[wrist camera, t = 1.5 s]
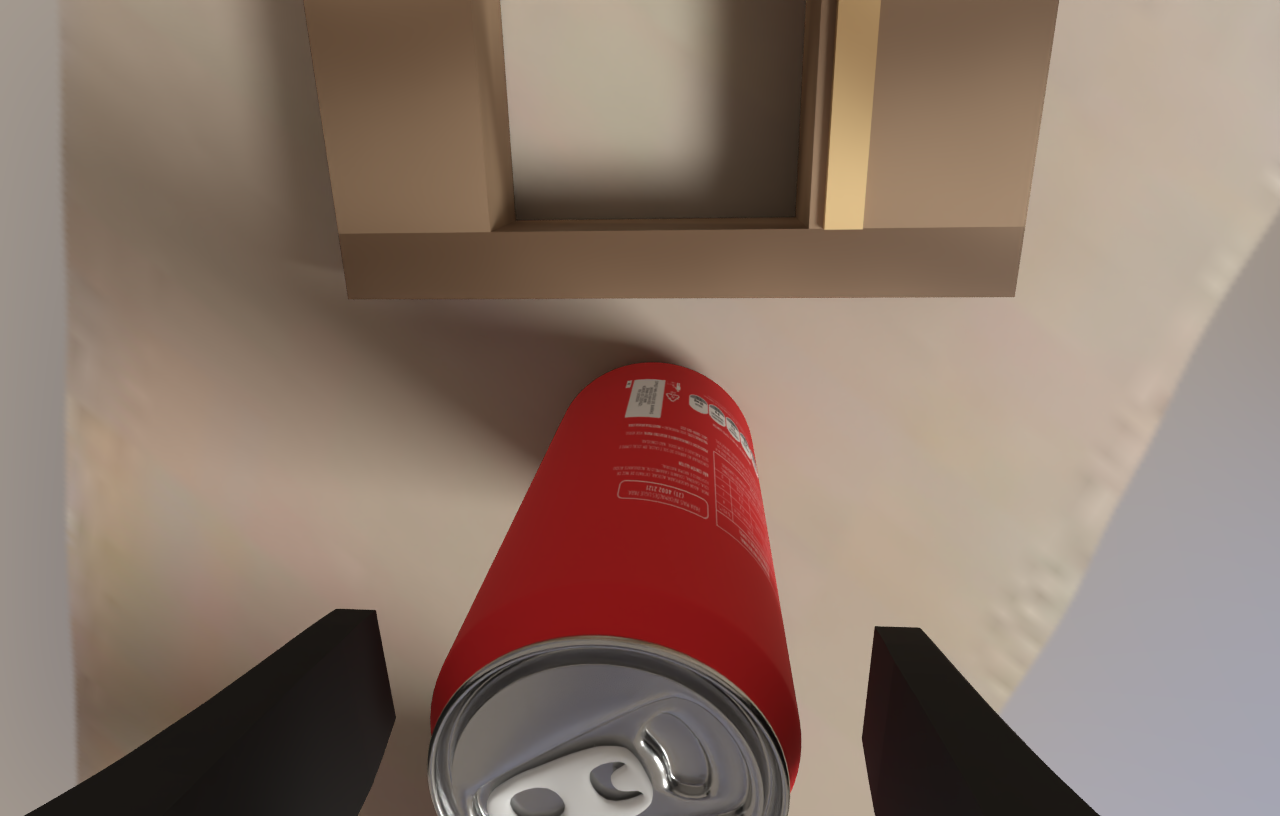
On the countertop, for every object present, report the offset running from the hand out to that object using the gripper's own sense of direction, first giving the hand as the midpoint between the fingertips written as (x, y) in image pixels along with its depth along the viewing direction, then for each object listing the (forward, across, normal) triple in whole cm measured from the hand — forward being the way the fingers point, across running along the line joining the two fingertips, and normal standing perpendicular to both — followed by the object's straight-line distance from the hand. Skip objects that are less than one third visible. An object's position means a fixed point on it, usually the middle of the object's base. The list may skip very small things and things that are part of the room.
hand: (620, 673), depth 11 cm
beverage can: (+11, 0, +1) cm, 11 cm away
